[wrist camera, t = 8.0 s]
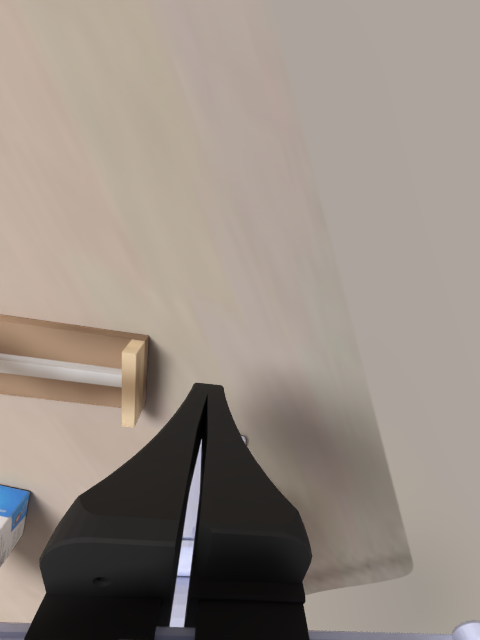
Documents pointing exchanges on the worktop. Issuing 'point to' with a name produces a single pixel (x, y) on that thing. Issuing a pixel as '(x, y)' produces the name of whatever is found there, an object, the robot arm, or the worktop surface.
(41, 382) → the rail board
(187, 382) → the worktop surface
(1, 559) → the ink box
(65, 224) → the worktop surface
